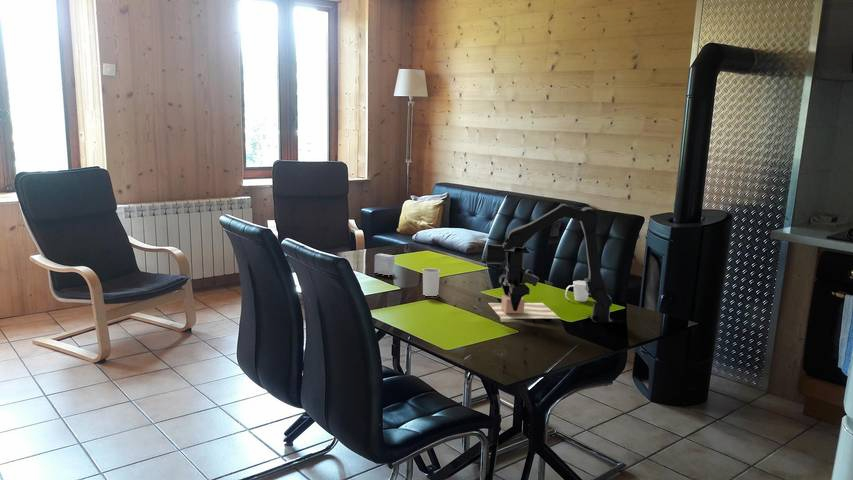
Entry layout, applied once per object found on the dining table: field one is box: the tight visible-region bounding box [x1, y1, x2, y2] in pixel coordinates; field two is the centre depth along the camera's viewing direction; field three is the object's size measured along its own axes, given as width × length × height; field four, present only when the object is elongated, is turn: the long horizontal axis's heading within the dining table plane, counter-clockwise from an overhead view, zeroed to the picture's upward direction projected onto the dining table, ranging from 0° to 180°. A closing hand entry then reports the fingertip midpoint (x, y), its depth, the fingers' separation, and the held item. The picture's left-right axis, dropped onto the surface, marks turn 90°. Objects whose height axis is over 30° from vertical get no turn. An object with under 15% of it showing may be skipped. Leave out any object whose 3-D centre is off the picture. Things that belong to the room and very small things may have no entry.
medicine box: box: [373, 253, 396, 277], centre depth 295 cm, size 8×4×9 cm, turn 58°
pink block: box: [501, 294, 525, 313], centre depth 239 cm, size 6×6×5 cm
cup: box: [564, 280, 590, 303], centre depth 259 cm, size 7×10×8 cm
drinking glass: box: [422, 267, 441, 297], centre depth 262 cm, size 7×7×10 cm
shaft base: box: [487, 302, 561, 323], centre depth 242 cm, size 20×21×5 cm
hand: (512, 308), depth 239 cm, fingers closed on pink block, 6 cm apart
